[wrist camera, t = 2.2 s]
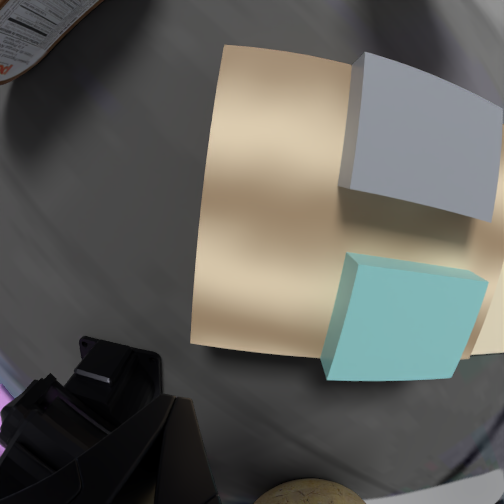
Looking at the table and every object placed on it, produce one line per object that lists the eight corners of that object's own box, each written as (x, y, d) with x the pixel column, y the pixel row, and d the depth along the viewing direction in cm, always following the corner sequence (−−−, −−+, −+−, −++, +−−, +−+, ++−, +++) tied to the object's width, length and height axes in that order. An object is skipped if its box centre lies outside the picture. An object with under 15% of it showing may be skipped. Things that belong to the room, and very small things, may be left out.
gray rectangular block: (469, 216, 14) (491, 222, 12) (337, 185, 14) (349, 188, 12) (480, 112, 12) (502, 108, 10) (351, 64, 12) (364, 51, 10)
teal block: (437, 360, 16) (451, 377, 14) (319, 358, 16) (326, 380, 14) (468, 270, 15) (489, 282, 13) (346, 252, 15) (358, 264, 13)
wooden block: (442, 332, 20) (468, 358, 16) (202, 311, 20) (190, 343, 16) (485, 136, 16) (522, 135, 12) (231, 69, 16) (224, 44, 12)
